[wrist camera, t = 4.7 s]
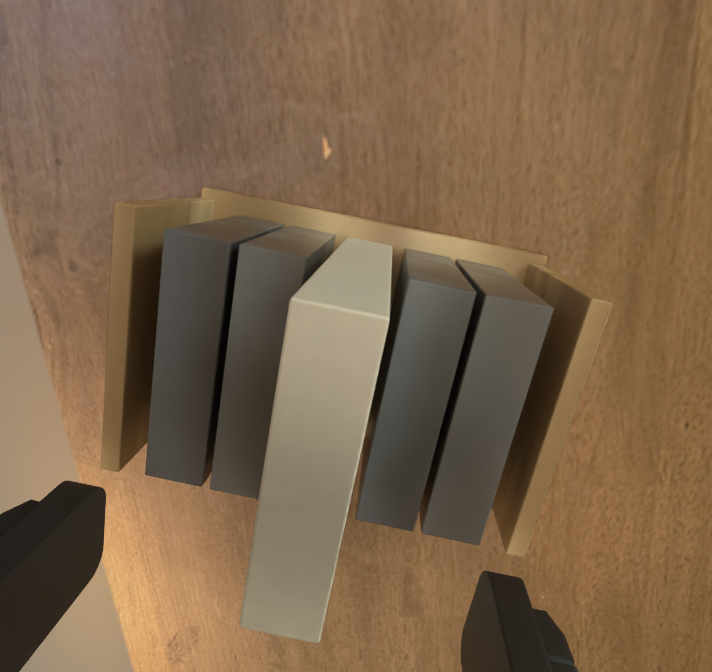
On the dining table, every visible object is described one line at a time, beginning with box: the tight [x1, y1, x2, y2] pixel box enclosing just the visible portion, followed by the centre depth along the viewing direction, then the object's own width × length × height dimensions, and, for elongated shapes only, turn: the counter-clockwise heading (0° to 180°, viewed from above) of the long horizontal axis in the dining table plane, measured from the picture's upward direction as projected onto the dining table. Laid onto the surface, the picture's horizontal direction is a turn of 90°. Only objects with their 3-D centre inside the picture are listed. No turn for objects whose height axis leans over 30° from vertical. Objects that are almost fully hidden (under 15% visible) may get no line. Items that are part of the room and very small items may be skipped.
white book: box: [239, 237, 393, 643], centre depth 20 cm, size 2×10×15 cm, turn 169°
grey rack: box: [101, 187, 613, 557], centre depth 24 cm, size 18×12×10 cm, turn 79°
